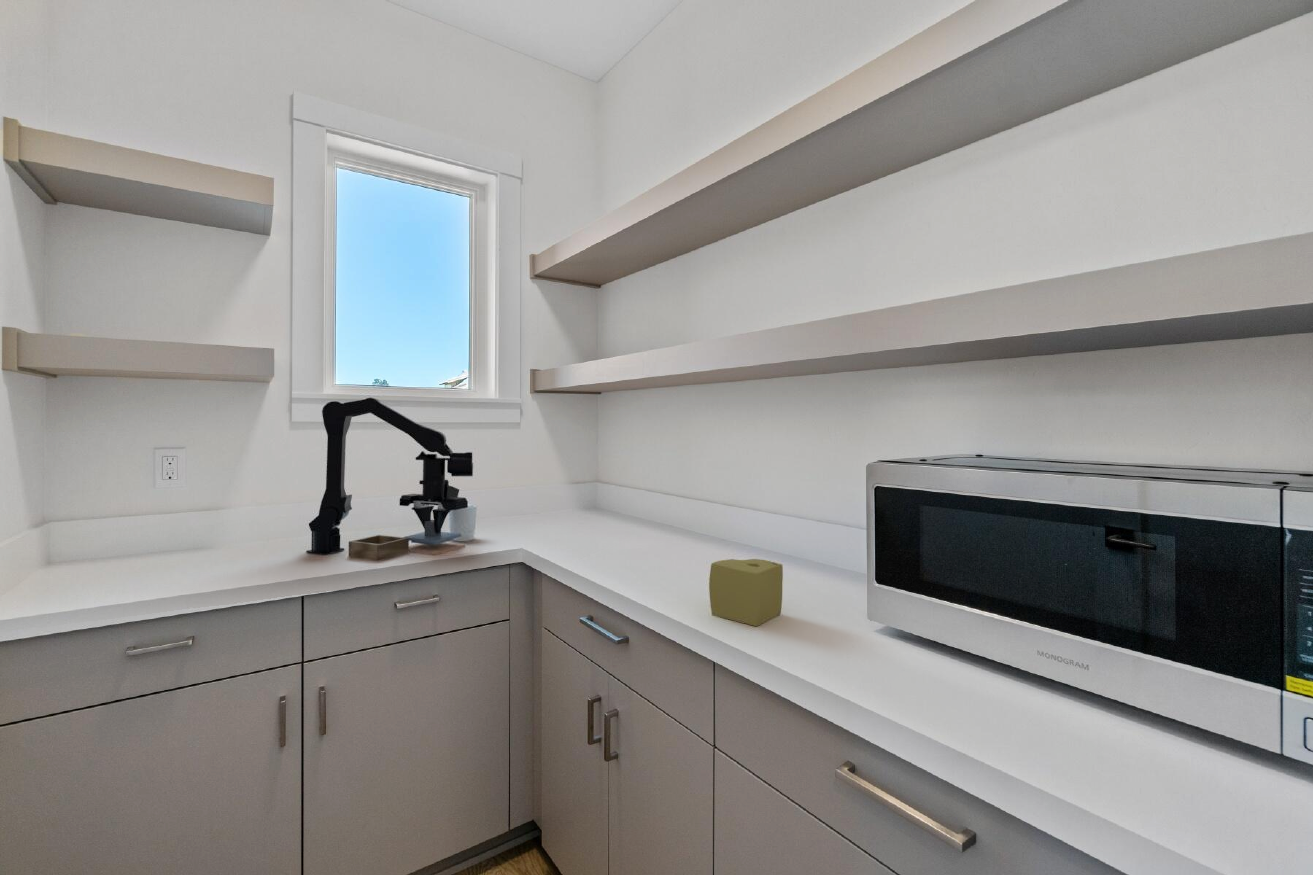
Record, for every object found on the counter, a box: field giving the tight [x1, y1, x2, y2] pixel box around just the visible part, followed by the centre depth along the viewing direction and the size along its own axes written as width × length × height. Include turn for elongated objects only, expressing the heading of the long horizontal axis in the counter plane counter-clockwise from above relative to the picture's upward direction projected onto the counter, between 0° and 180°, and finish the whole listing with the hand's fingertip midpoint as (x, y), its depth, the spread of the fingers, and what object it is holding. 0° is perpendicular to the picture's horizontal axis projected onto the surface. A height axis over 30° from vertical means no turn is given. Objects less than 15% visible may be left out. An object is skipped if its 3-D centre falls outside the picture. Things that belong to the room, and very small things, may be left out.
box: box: [348, 534, 410, 562], centre depth 152 cm, size 10×10×4 cm
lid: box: [403, 519, 461, 545], centre depth 161 cm, size 11×11×6 cm
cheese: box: [708, 558, 784, 627], centre depth 110 cm, size 10×11×10 cm
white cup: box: [448, 503, 478, 542], centre depth 174 cm, size 8×8×10 cm
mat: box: [409, 542, 466, 556], centre depth 161 cm, size 12×12×1 cm
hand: (432, 532), depth 161 cm, fingers closed on lid, 3 cm apart
